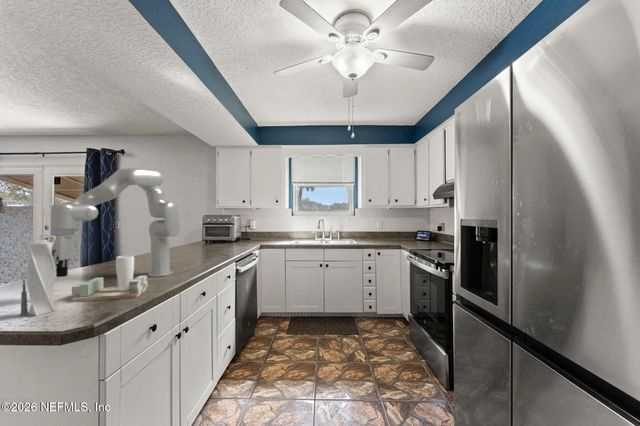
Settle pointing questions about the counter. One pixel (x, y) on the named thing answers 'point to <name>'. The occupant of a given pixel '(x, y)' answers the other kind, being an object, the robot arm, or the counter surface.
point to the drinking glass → (124, 271)
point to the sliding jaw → (88, 287)
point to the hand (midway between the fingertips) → (61, 276)
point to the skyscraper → (39, 279)
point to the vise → (117, 291)
